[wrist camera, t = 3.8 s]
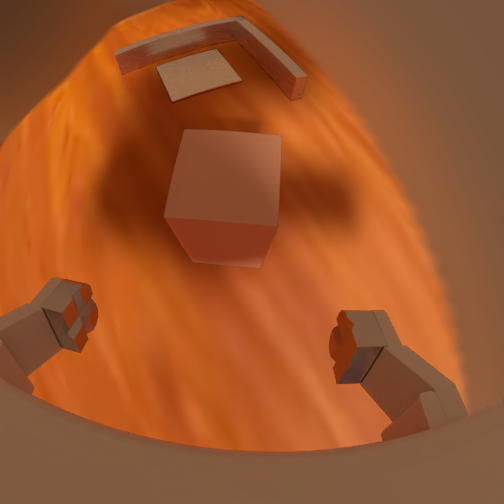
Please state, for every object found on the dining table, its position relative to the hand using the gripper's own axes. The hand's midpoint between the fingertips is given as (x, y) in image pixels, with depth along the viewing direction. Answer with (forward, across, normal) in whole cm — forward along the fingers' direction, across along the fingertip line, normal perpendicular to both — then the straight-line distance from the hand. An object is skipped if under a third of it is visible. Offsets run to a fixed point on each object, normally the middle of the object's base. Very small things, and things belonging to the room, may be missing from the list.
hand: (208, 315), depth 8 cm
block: (+11, 0, +2) cm, 11 cm away
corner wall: (+23, +6, -10) cm, 25 cm away
